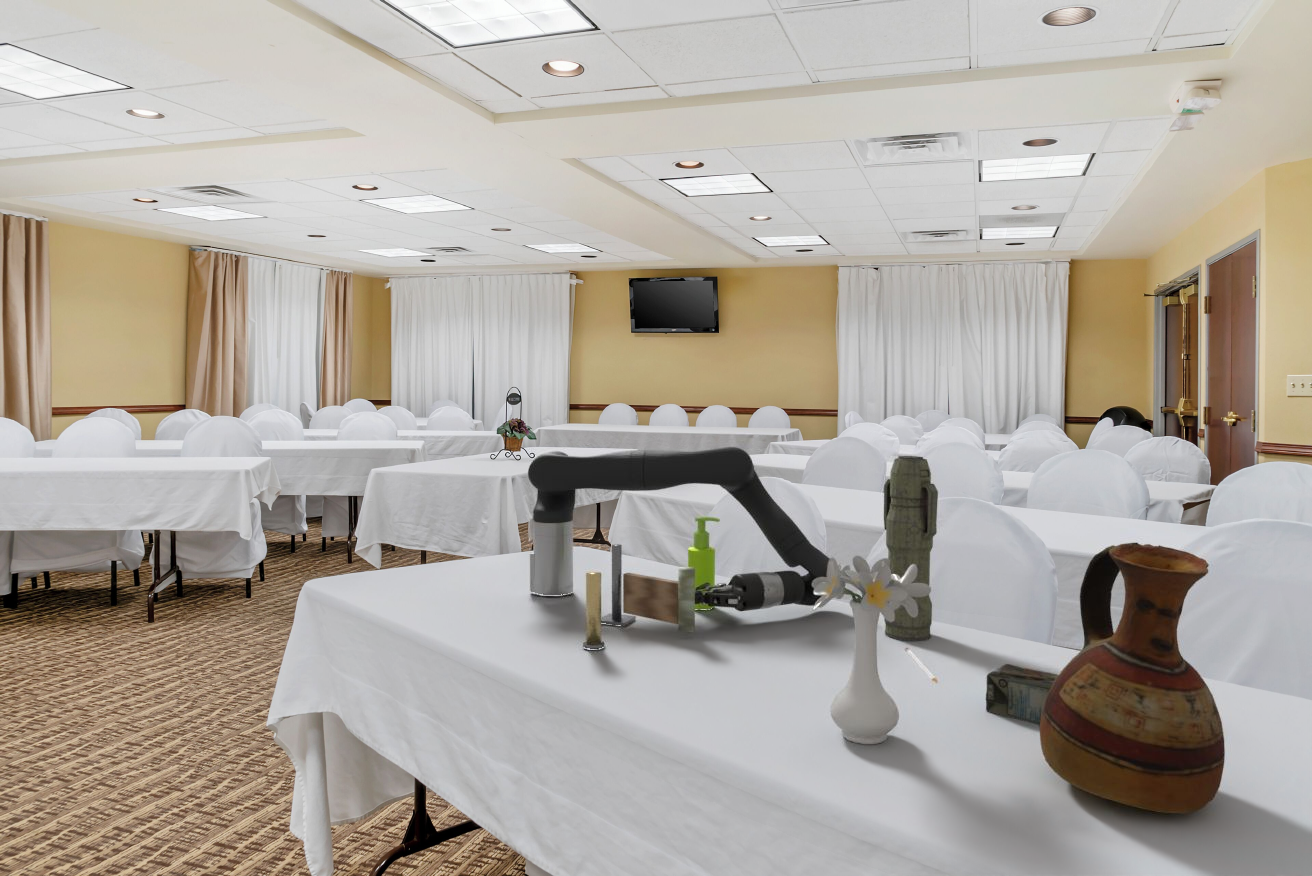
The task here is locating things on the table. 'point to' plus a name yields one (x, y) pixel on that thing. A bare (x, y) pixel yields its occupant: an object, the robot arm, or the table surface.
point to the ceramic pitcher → (1136, 691)
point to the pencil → (921, 664)
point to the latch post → (593, 611)
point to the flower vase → (867, 642)
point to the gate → (662, 598)
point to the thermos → (910, 538)
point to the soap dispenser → (702, 557)
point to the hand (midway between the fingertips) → (682, 599)
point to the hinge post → (617, 591)
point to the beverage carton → (1018, 692)
